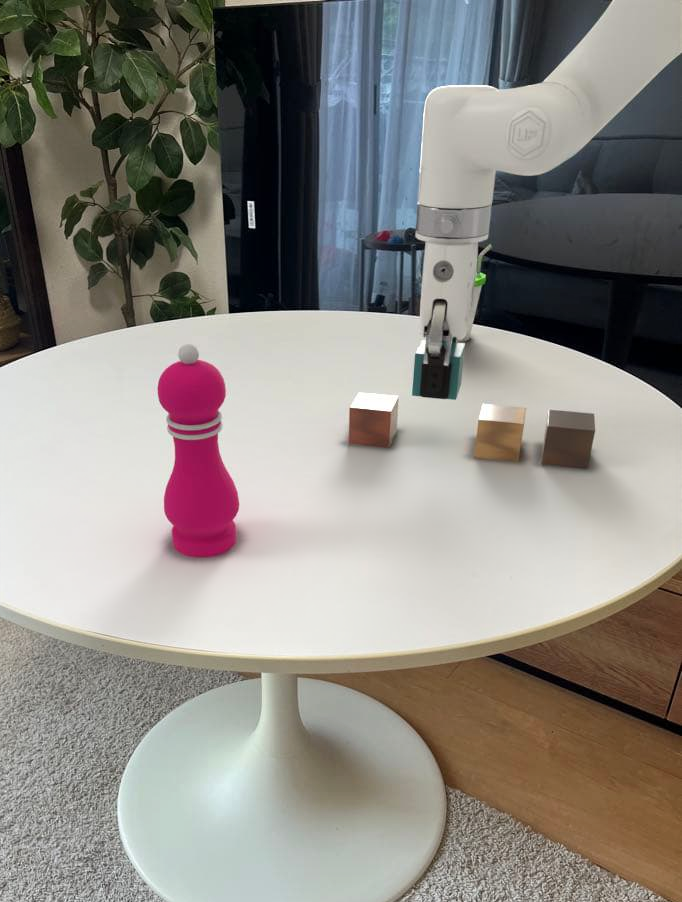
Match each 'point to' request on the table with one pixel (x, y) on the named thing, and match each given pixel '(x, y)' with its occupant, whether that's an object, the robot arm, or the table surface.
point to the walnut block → (568, 439)
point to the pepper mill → (197, 458)
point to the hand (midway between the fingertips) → (437, 386)
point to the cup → (476, 291)
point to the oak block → (500, 432)
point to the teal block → (455, 360)
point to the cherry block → (373, 420)
